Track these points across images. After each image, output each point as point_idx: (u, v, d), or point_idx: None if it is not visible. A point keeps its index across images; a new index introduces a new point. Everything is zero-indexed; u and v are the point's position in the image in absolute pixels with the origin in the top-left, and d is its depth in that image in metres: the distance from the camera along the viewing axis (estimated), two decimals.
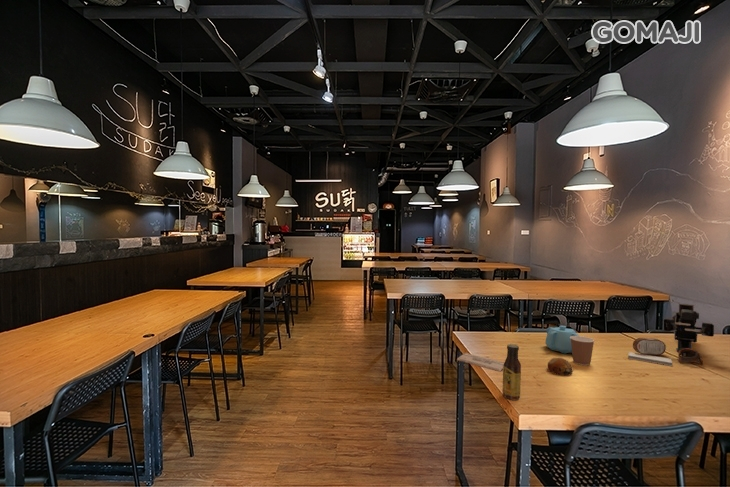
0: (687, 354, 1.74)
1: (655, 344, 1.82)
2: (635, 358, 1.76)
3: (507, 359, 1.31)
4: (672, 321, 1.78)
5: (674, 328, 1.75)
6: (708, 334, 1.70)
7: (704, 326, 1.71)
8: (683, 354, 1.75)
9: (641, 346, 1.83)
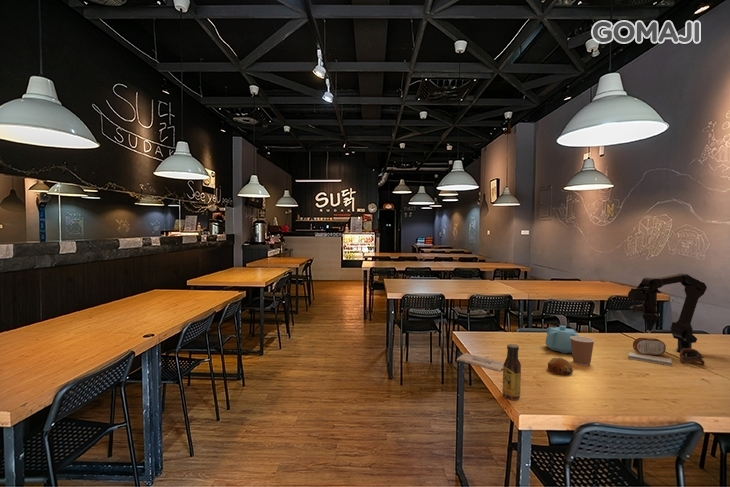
0: (688, 354, 1.74)
1: (655, 344, 1.82)
2: (635, 358, 1.76)
3: (507, 359, 1.31)
4: None
5: None
6: (654, 320, 1.83)
7: None
8: (684, 354, 1.75)
9: (641, 346, 1.83)
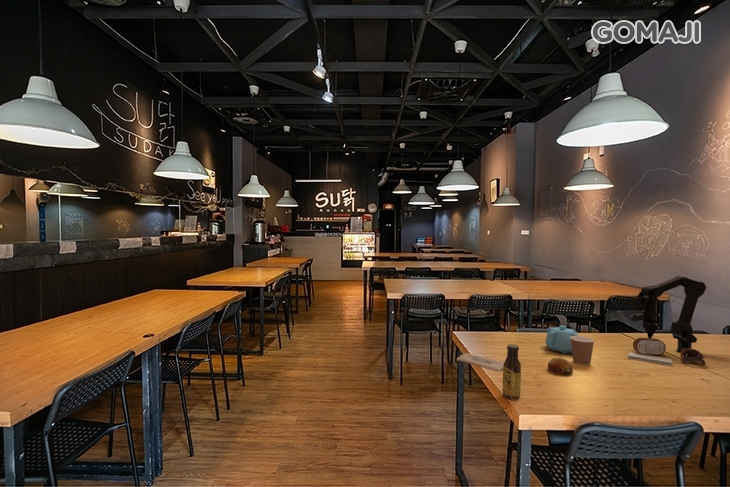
0: (689, 354, 1.74)
1: (655, 344, 1.82)
2: (635, 358, 1.76)
3: (507, 359, 1.31)
4: None
5: None
6: (654, 328, 1.86)
7: (645, 328, 1.89)
8: (685, 354, 1.75)
9: (641, 346, 1.83)
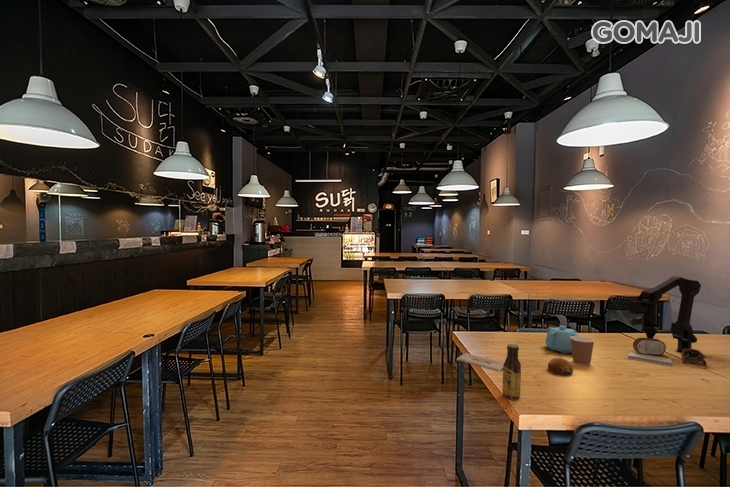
0: (690, 354, 1.74)
1: (655, 344, 1.82)
2: (635, 358, 1.76)
3: (507, 359, 1.31)
4: None
5: None
6: None
7: (645, 332, 1.87)
8: (686, 354, 1.74)
9: (641, 346, 1.83)
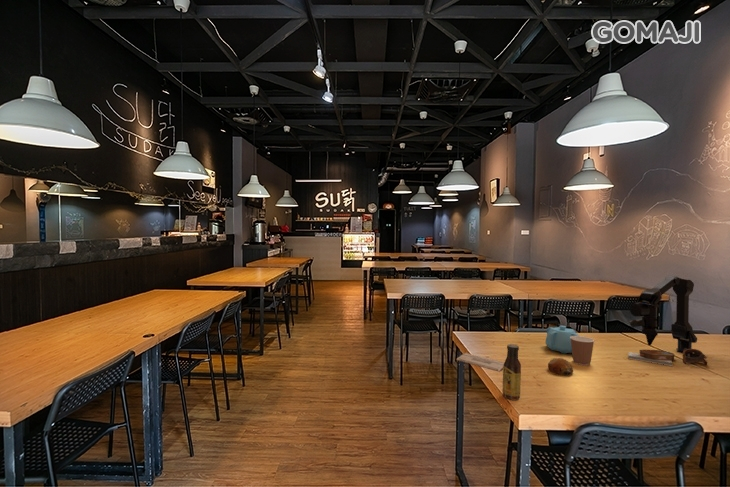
0: (691, 354, 1.74)
1: None
2: (635, 358, 1.76)
3: (507, 359, 1.31)
4: None
5: None
6: (654, 334, 1.79)
7: (645, 334, 1.82)
8: (687, 355, 1.74)
9: None
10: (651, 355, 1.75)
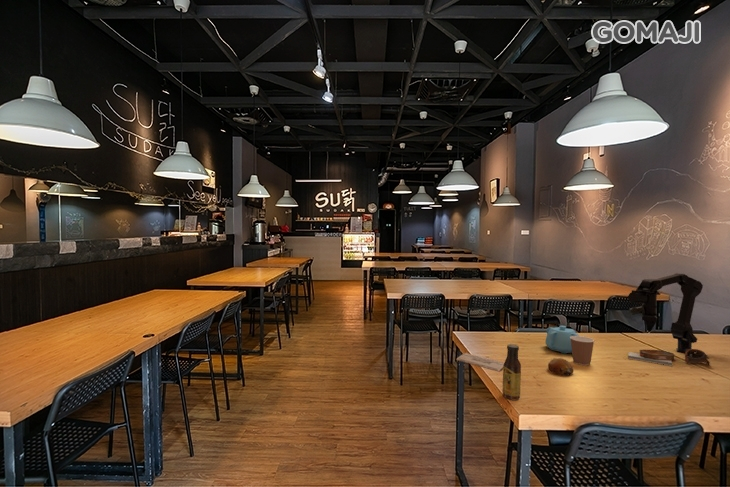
0: (693, 355, 1.73)
1: None
2: (635, 358, 1.76)
3: (507, 359, 1.31)
4: None
5: None
6: None
7: (645, 321, 1.87)
8: (689, 355, 1.74)
9: None
10: (651, 355, 1.75)
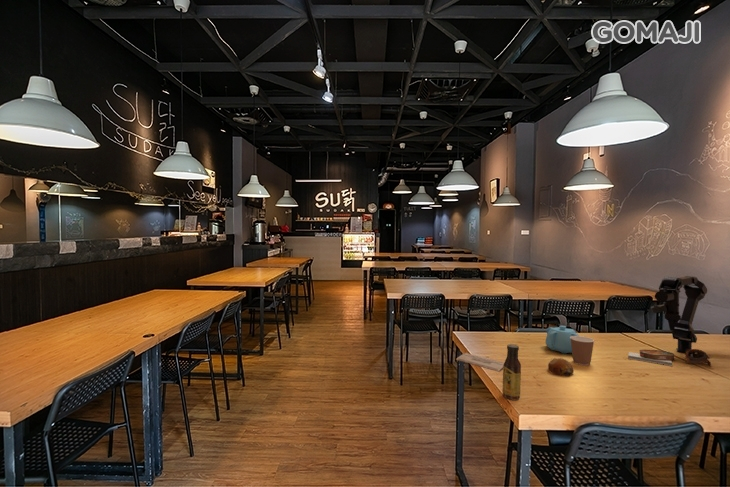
0: (694, 355, 1.73)
1: None
2: (635, 358, 1.76)
3: (507, 359, 1.31)
4: None
5: None
6: (677, 319, 1.80)
7: (667, 319, 1.84)
8: (690, 355, 1.74)
9: None
10: (651, 355, 1.75)
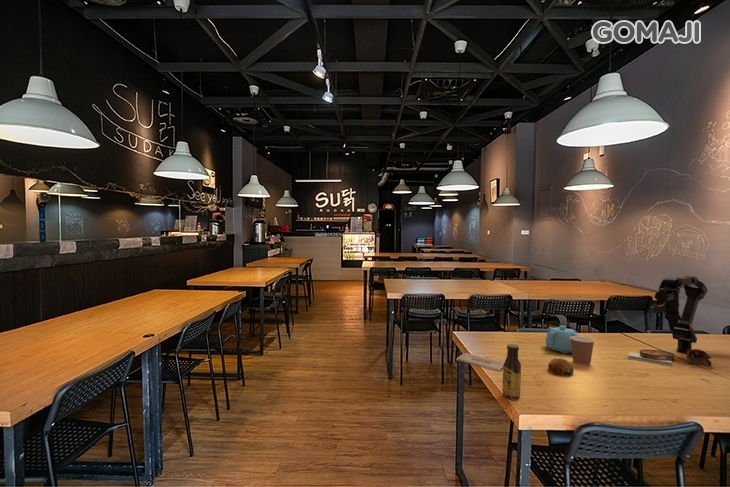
0: (695, 355, 1.73)
1: None
2: (635, 358, 1.76)
3: (507, 359, 1.31)
4: None
5: None
6: (677, 319, 1.80)
7: (667, 319, 1.84)
8: (691, 355, 1.74)
9: None
10: (651, 355, 1.75)
